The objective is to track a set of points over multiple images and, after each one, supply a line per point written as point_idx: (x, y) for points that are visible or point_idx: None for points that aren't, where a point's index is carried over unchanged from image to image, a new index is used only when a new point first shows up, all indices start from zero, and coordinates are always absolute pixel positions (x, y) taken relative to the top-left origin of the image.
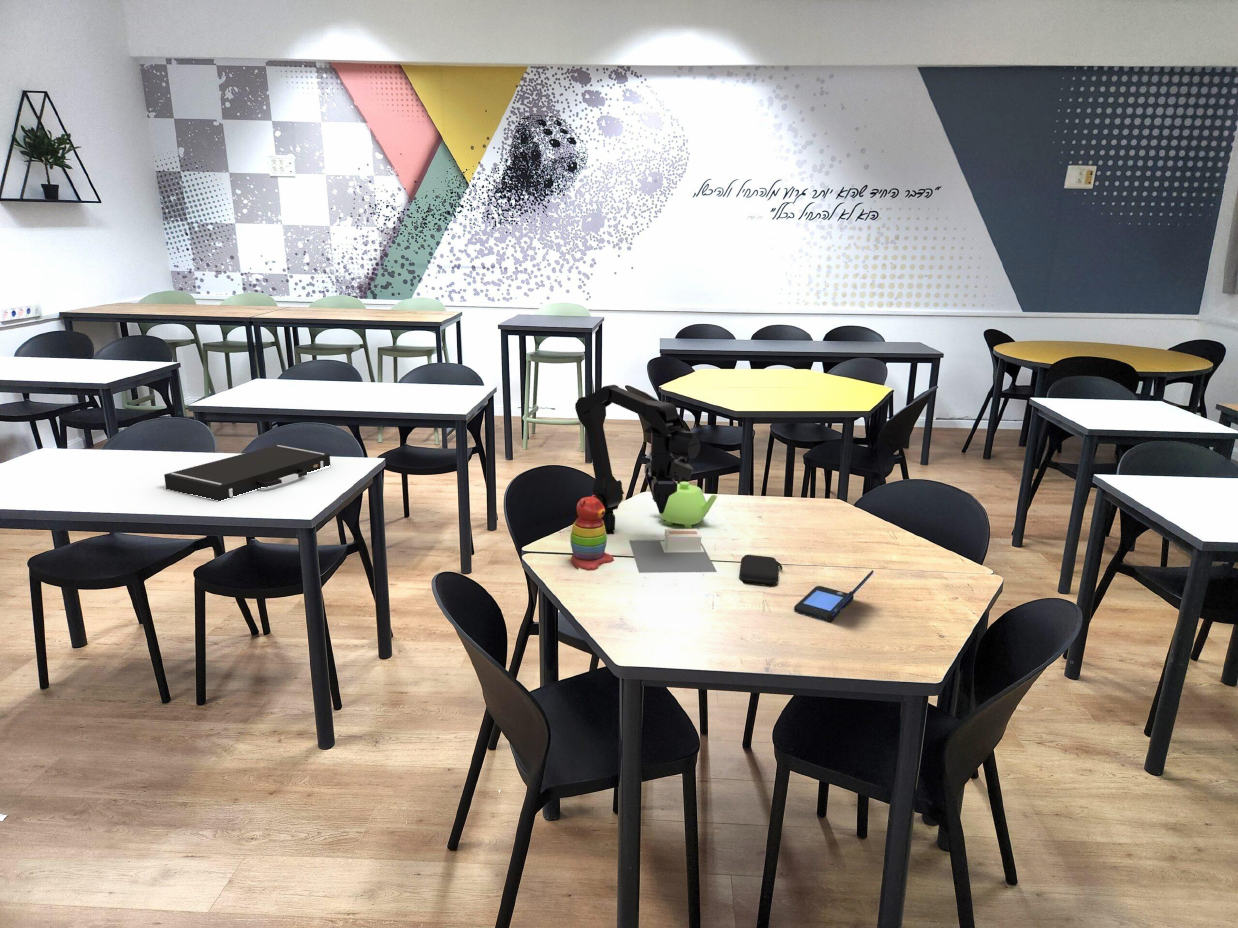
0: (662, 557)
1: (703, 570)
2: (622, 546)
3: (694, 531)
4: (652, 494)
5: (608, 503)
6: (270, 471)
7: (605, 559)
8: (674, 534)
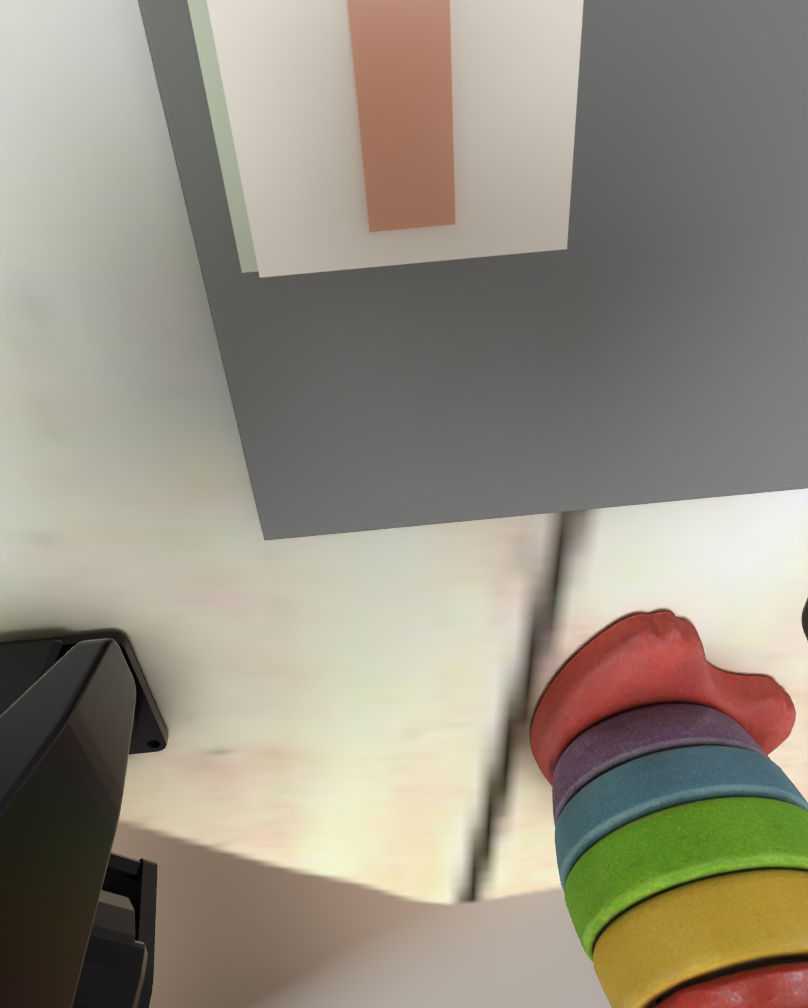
0: (682, 272)
1: None
2: (359, 568)
3: None
4: (99, 883)
5: (136, 964)
6: None
7: (707, 676)
8: (473, 144)
